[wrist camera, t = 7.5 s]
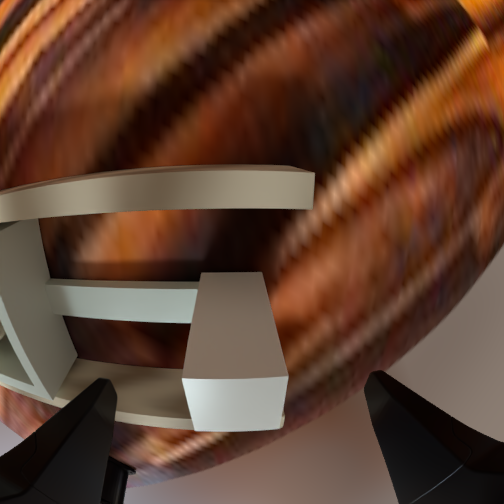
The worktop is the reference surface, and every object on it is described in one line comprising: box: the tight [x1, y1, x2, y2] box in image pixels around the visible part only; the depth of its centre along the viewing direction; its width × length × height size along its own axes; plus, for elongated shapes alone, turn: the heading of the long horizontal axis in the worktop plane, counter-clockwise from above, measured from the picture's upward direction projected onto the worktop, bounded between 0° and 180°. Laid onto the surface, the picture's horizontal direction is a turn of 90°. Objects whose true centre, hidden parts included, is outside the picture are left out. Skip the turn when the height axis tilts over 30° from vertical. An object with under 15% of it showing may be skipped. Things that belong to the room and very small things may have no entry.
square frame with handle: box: [0, 218, 288, 432], centre depth 10 cm, size 22×10×7 cm, turn 89°
